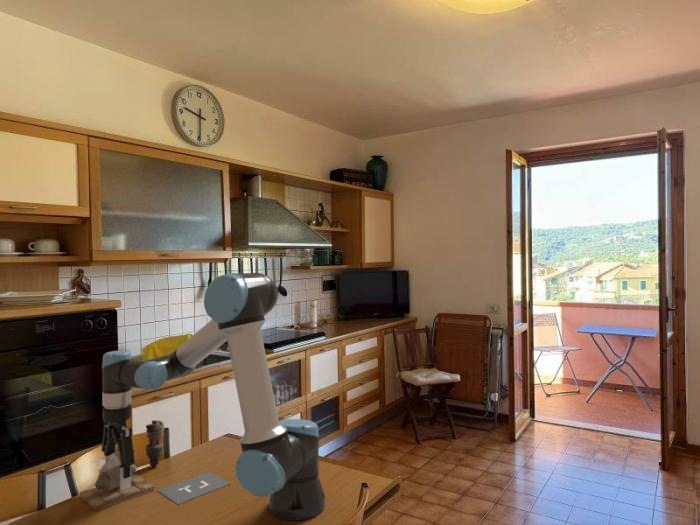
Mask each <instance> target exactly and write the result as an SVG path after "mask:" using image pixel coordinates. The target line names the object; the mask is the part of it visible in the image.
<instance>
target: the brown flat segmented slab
mask: <svg viewBox="0 0 700 525" xmlns="http://www.w3.org/2000/svg"><path fill="white" fill-rule="evenodd" d="M154 491H155V486H154V485H153V484H151V483H150V482H148V481H146V479H144V478H142V477H141V476H139V475H138V474H134V475H132V476H131V487H130V488H127V489H124V490H120V486H118V487H116V488H114V489H111V490H109V491H104V490H97V489H96V487H93V488H90V489H86V490H84V491H81V492H79V497H80V496H81V497H82V498H83V499H84V500H85V501H86V502H85V501H84V500H83V499H82V498H81V497H80V498H81V499H82V500H83V501H84V502H85V503H87V504H88V505H89V506H90V507H91V508H92V509H93V510H94V511H95V512H98V511H101V510H103V509H105V508H108V507H112V506H115V505H118V504H120V503H123V502H126V501H128V500H132V499H134V498H137V497H140V496H143V495H145V494H147V493H148V494H149V493H151V492H154Z"/></svg>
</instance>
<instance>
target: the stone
mask: <svg viewBox="0 0 700 525" xmlns="http://www.w3.org/2000/svg"><path fill="white" fill-rule="evenodd" d="M120 465H121V461H120V456H119V451H118V450H116V451H115V452H114V453H113V454H111V455H110V456H109V457H108V459H107V461H106V462H105V461H104V464H103V465H102V468H100V470H98V473H99V474H98V477H97V479H96V481H95V484H94V486H95V487H94V488H96V489H97V490H104V491H109V490H111V489H114V488H116V487H118V486H120V468H119V466H120ZM136 471H138V469H137V466H136V465H135V464H133V465H131V476H133V475H135V474H136Z"/></svg>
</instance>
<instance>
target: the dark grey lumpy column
mask: <svg viewBox="0 0 700 525" xmlns="http://www.w3.org/2000/svg"><path fill="white" fill-rule="evenodd" d="M145 428H146V431H145V432H146V438H148V439H147V440H148V444H146V446H145V454H146V456H147V458H148V459H149V466H150V467H151V468H155V466H156V467H157V465H160V457H161V456H162V455H163V452H164V443H163V442H161V439H162V438H163V436H164V434H165V433H164V431H165V423H164V422H163V421H162V420H157V419H155V420H152V421H151V424H147V425H146V426H145Z"/></svg>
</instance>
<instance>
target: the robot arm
mask: <svg viewBox="0 0 700 525" xmlns="http://www.w3.org/2000/svg"><path fill="white" fill-rule="evenodd" d="M278 295H279V294H278V287H277V285H276V283H275V282H274V280H273V279H272V278H271V277H270V276H268V275H266V274H265V273H262V272H246V273H245V272H243V273H241V272H237V273H235V272H233V273H228V274H227V273H225V274H221V275H218V276H217V277H215V278H213V279H212V281H211V282H209V285H208V287H207V288H206V289H205V292H204V297H203V305H204V310H205V312H206V314H207V316H208V317H210V319H211V320H210V321H209V322H207V323H206V324H205V325H204V326H202V327H201V328H200V329H199V330H197V331H196V332H195V333H194V334H193V335H191V336H190V337H189V338H188V339H187V340H185V342H183V343H182V344H181V345H179V346H178V347H177V348H176V349H174V351H172V352H171V353H169V354H167V355H162V356H159V357H154V358H150V359H146V360H145V359H144V360H139V359H138V360H135V359H133V358H132V352H131V351H128V350H112V351H108V352H105V353H104V354H103V356H102V364H101V371H102V376H101V377H102V397H101V398H102V406H103V408H102V421H103V434H102V440H101V441H102V442H101V443H102V444H101V452H102V453H103V455H104V463H105V462H106V461H107V459H108V457H109V456H110V455H111V454H113V453H114V452H115V451H117V452H119V456H120V461H121V465H120V466H119V468H120V490H124V489H127V488H130V487H131V465H133V464H134V465H135V464H136V463H135V462H136V461H135V453H134V445H133V430H132V429H133V428H132V427H129V428H128V424H127V421H128V420H129V419H131V417H132V412H133V411H132V405H131V403H132V395H133V391H132V388H135V389H141V390H147V391H148V390H149V391H150V390H154V391H155V390H159V389H160V388H162V386H163V385H165V383H166V382H170V381H174V380H176V379H181V378H185V377H187V376H188V375H190V374H192V373H193V372H195V370H196V367H197V366H198V364H200V363H201V362H202V361H203V360H204V359H206V358H207V357H208V356H209V355H211V354H212V353H213V352H215V350H218V349H219V348H220V347H221V346H222V345H224V344H225V343H226V342H227V345H228V351H229V356H230V361H231V367H232V372H233V376H234V382H235V387H236V391H237V398H238V402H239V408H240V414H241V417H242V423H243V428H244V434H243V435H242V437H241V438H240V440H239V442H240V448H241V453H242V454H240V455H239V457H238V460H237V461H236V463H235V474H236V477H237V480H238V482H239V483H240V484H239V485H241V487H242V488H243V489H244V490H245V491H247V492H248V493H249V494H251V495H253V496H256V497H261V498H263V497H264V498H265V497H269V500H268V502H269V503H268V504H269V506H268V509H269V512H270V513H271V514H272V515H273V516H274V517H277V518H279V519H282V520H287V521H301V520H307V519H310V518H313V517H316V516H318V515H319V514H321V513H322V512H323V511H324V509H325V507H326V496H325V493H324V489H323V486H322V483H321V480H320V476H319V475H320V474H319V466H320V465H319V460H320V459H319V458H320V455H319V449H320V447H319V438H320V435H319V427H318V426H319V425H318V424H317V423H316V422H314V421H311V420H308V419H301V418H289V419H281V420H279V414H278V410H277V404H276V400H275V395H274V390H273V385H272V378H271V375H270V368H269V364H268V360H267V355H266V350H265V344H264V340H263V334H262V331H261V330H262V327H263V325H264V324H265V322H266V318H265V316H266V315H267V314H269V313H271V311H272V310H273V309H274V308H275V306H276V304H277V301H278V298H279V296H278ZM116 446H117V450H116Z"/></svg>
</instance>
